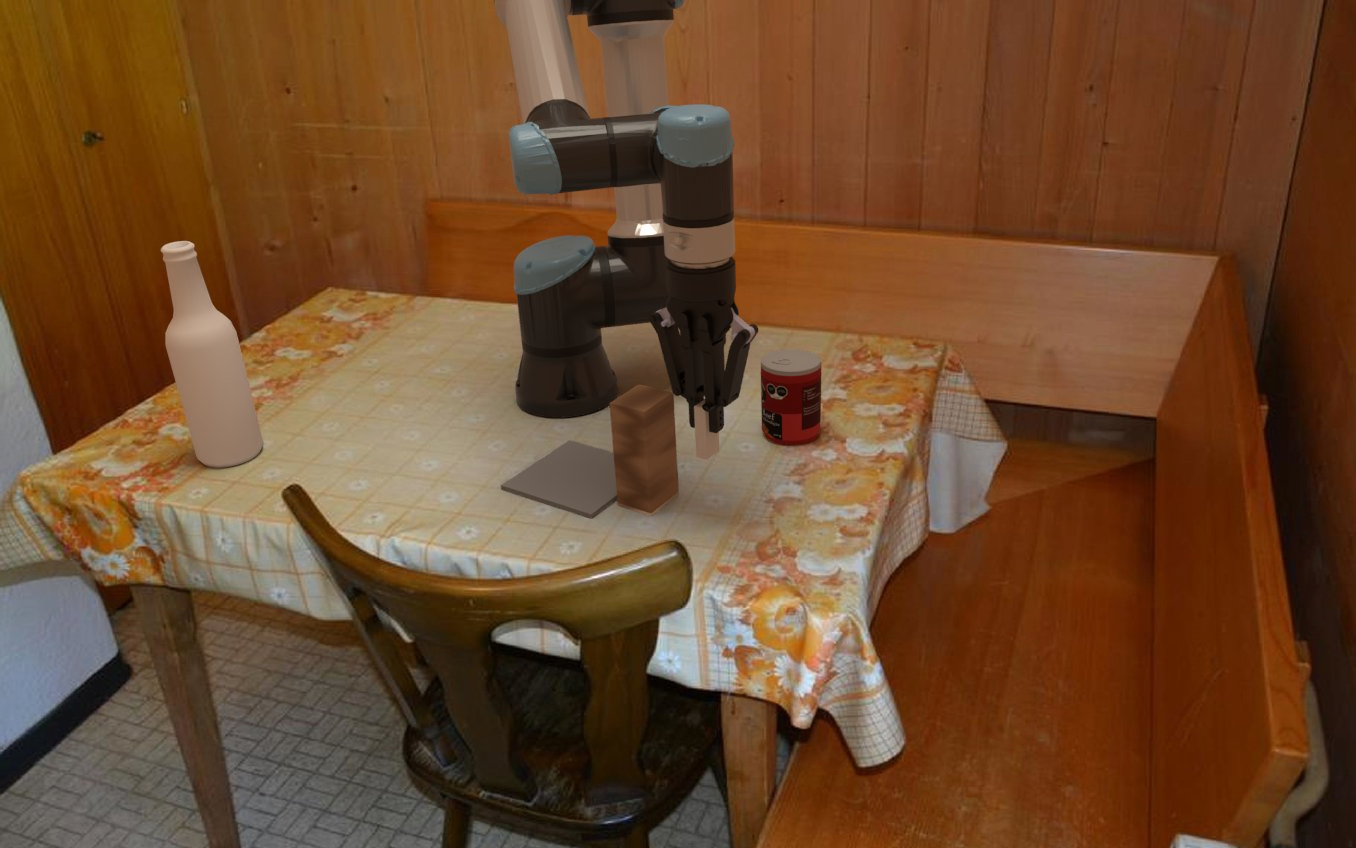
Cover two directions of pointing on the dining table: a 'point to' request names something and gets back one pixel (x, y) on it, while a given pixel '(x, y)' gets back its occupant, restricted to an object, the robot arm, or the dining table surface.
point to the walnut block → (644, 449)
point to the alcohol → (208, 367)
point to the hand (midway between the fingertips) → (707, 453)
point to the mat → (569, 479)
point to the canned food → (791, 396)
